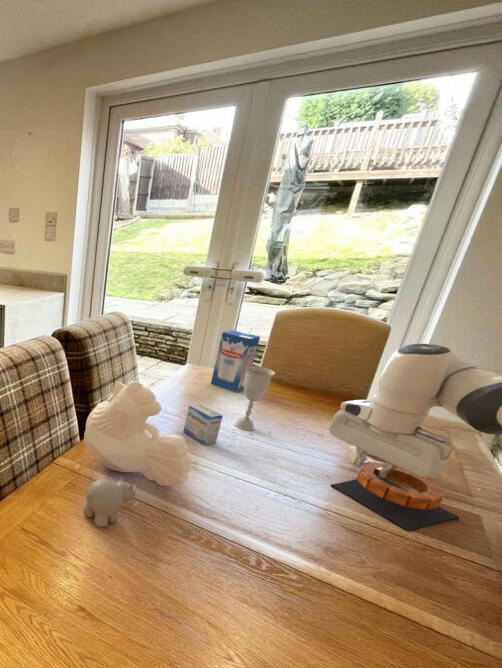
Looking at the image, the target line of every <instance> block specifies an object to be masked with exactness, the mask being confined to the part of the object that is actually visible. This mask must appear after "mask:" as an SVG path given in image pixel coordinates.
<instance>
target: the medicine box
mask: <svg viewBox="0 0 502 668" xmlns="http://www.w3.org/2000/svg"><path fill="white" fill-rule="evenodd" d="M186 412H187V413H186V417H185V421H184V426H183V430H182V431H183V433H184V434H185V433H186V434H185V435H187V434H188V435H187V436H189V437H190V436H191V438H192V437H193V438H192V439H194V440H196V441H197V440H198V441H197V442H199V443H201V444H202V445H204V446H205V445H211V444H215V443H217V441H218V436H219V433H220V428H221V424H222V421H223V416H224V415H222V414H221V413H219V412H216V411H215V410H213V409H211V408H208V407H207V406H204V405H203V404H201V403H197V404H191V405H189V406H188V408H187V411H186ZM210 443H211V444H210Z"/></svg>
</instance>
